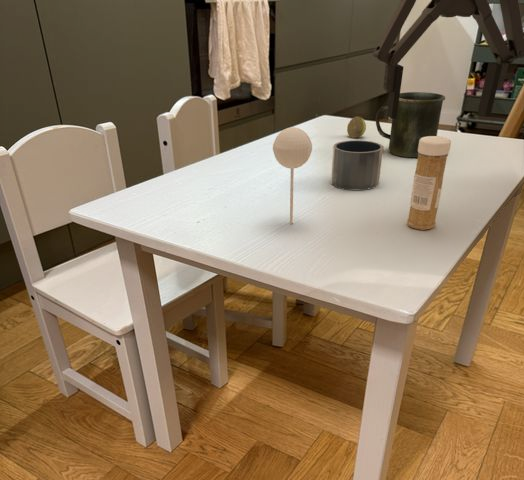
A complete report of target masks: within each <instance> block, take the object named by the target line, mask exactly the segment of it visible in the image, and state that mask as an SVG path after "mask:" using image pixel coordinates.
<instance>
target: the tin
mask: <svg viewBox="0 0 524 480" xmlns="http://www.w3.org/2000/svg"><path fill="white" fill-rule="evenodd" d="M383 152H384V145H382V144H381V143H378V142H375V141H372V140H361V139H360V140H359V139H356V140H354V139H353V140H352V139H351V140H343V141H339V142H336V143H335V144H334V145H333V147H332V163H331V164H332V165H331V184H332V186H334V185H335V186H334V187H336V186H337V187H336V188H338V187H340V188H339V189H341V188H344V189H343V190H346V189H368V188H372V189H374V188H373V187H375V188H377V187H378V186H379V185H378V184H380V178H381V169H382V161H383ZM377 185H378V186H377ZM376 186H377V187H376ZM368 190H369V189H368Z"/></svg>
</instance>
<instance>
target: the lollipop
mask: <svg viewBox="0 0 524 480" xmlns="http://www.w3.org/2000/svg"><path fill="white" fill-rule="evenodd" d="M312 151H313V143H312V140H311V138H310V136H309V135H308V134H307V132H305V130H303V129H301V128H299V127H295V126H293V127H287V128H285V129H283V130H281V131H280V132H279V133H278V134H277V135H276V137H275V139H274V141H273V143H272V153H273V155H274V157H275V159H276V161H277V162H278V164H279V165H281V166H282V167H284V168H286V169H290V188H289V189H290V190H289V191H290V192H289V193H290V194H289V224H290V225H293V224H294V223H293V222H294V221H293V219H294V173H295V171H294V170H295V169H298V168H301V167H303V166H304V165H305V164H306V163H307V162H308V161H309V159H310V157H311V154H312ZM292 223H293V224H292Z"/></svg>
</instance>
